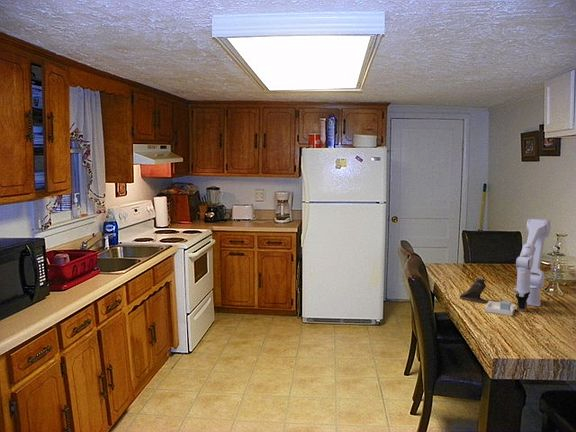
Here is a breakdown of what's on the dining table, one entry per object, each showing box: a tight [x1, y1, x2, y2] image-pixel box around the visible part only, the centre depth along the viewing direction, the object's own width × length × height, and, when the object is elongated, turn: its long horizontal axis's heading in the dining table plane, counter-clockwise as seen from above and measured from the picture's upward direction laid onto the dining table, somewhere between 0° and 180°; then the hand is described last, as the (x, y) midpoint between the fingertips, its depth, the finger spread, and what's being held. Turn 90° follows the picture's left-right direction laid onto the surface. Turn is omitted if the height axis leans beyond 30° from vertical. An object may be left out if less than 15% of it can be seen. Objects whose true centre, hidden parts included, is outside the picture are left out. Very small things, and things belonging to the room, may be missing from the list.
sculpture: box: [459, 277, 487, 305], centre depth 235 cm, size 6×13×13 cm, turn 43°
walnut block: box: [516, 302, 528, 313], centre depth 219 cm, size 4×4×4 cm
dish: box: [484, 300, 516, 317], centre depth 218 cm, size 12×12×2 cm
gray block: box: [500, 300, 512, 311], centre depth 217 cm, size 4×4×4 cm
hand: (522, 307), depth 219 cm, fingers open, 5 cm apart
